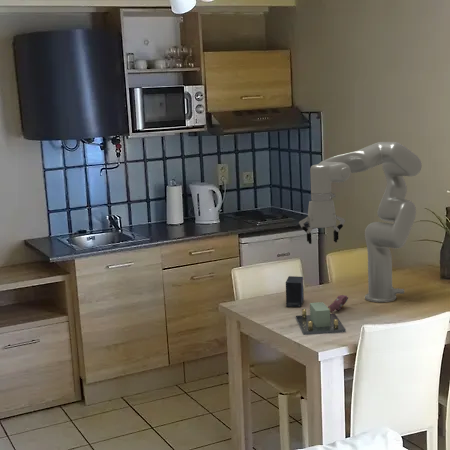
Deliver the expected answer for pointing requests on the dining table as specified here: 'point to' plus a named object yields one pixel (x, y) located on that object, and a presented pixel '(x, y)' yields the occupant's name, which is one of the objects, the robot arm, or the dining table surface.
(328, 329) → the standoff plate
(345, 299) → the video game controller
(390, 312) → the dining table surface
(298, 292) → the small box
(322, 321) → the green board block
